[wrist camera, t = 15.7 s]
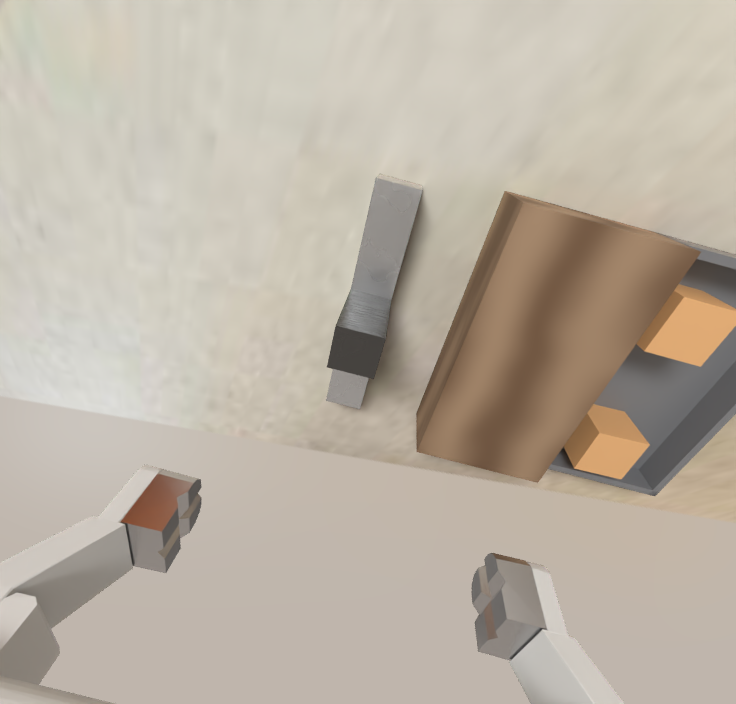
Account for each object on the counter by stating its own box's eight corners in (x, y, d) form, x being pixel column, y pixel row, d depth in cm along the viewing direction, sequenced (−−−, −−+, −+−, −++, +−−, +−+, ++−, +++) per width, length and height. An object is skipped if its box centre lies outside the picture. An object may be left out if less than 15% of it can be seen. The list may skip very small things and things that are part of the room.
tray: (811, 275, 26) (855, 291, 23) (637, 470, 36) (655, 496, 33) (653, 231, 25) (680, 242, 23) (523, 440, 36) (531, 464, 33)
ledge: (653, 231, 25) (701, 251, 21) (523, 440, 36) (537, 482, 31) (504, 190, 25) (523, 202, 21) (416, 413, 35) (416, 451, 31)
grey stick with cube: (422, 184, 26) (424, 206, 18) (363, 388, 35) (349, 461, 27) (379, 173, 26) (364, 189, 18) (332, 380, 35) (309, 451, 27)
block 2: (649, 275, 26) (702, 290, 26) (616, 325, 28) (666, 338, 29) (684, 296, 23) (745, 314, 23) (644, 351, 25) (700, 366, 25)
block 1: (579, 400, 32) (624, 411, 32) (557, 434, 34) (600, 444, 34) (599, 432, 29) (649, 444, 29) (574, 468, 31) (621, 479, 31)
